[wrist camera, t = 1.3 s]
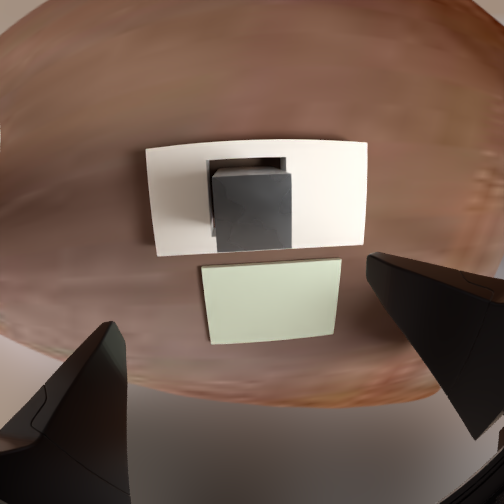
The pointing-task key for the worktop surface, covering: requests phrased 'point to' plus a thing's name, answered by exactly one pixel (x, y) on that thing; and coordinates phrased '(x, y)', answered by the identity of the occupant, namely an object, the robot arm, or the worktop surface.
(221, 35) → the worktop surface
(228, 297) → the green pad
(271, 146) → the cream window plate
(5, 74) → the worktop surface
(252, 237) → the grey rectangular block
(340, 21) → the worktop surface
